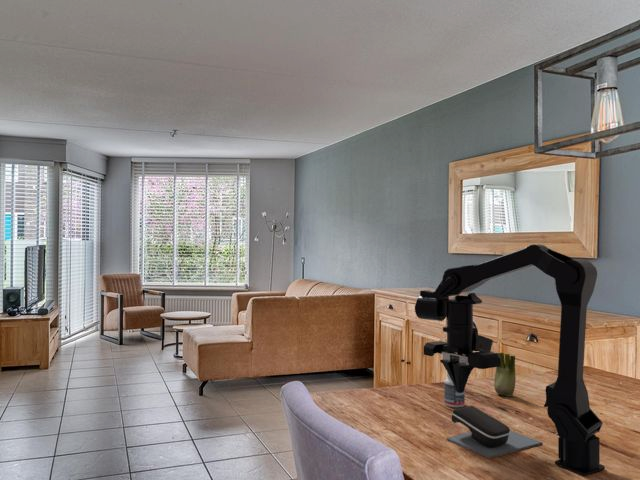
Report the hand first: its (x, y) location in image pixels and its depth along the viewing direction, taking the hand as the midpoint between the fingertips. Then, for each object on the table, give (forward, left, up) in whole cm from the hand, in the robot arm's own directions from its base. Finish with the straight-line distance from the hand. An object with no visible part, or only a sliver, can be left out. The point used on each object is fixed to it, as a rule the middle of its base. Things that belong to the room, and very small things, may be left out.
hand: (460, 392), depth 122 cm
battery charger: (0, 0, -5) cm, 5 cm away
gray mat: (-7, -3, -9) cm, 12 cm away
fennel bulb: (+17, -34, -10) cm, 39 cm away
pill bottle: (+17, -15, -10) cm, 25 cm away
